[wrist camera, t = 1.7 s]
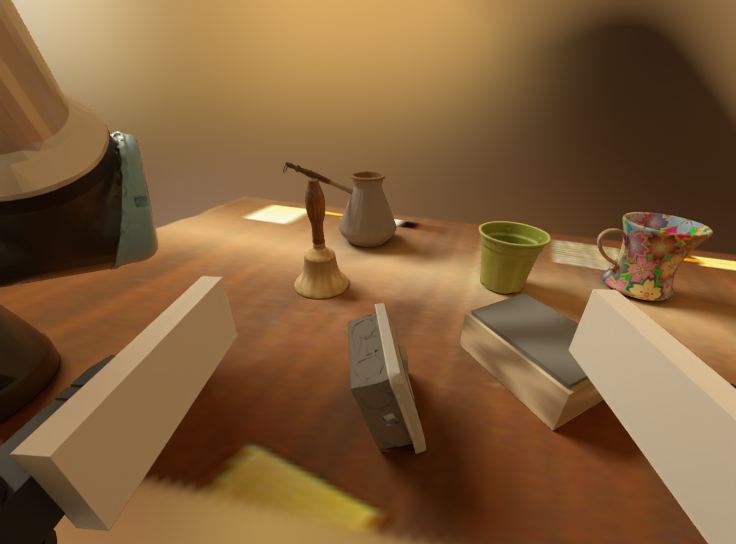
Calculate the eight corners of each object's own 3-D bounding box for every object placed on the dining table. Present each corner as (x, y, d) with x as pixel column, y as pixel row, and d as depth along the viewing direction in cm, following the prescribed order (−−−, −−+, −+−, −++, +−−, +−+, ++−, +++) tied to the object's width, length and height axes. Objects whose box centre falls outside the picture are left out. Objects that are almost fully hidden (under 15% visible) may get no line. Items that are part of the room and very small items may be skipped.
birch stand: (459, 344, 36) (466, 309, 34) (514, 323, 40) (524, 290, 37) (552, 430, 27) (571, 390, 25) (614, 393, 30) (636, 354, 28)
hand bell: (353, 295, 46) (351, 184, 38) (295, 302, 44) (281, 188, 36) (343, 269, 53) (340, 171, 45) (293, 274, 51) (280, 174, 43)
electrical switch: (427, 457, 25) (427, 375, 20) (363, 467, 25) (349, 385, 20) (405, 369, 33) (401, 296, 29) (357, 376, 33) (345, 304, 28)
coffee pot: (394, 229, 69) (398, 158, 61) (397, 252, 59) (401, 169, 51) (297, 228, 69) (290, 157, 62) (284, 250, 59) (273, 168, 52)
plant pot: (478, 264, 54) (488, 216, 50) (538, 279, 50) (554, 228, 46) (461, 288, 47) (470, 235, 43) (528, 308, 43) (546, 251, 39)
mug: (648, 277, 51) (680, 213, 46) (689, 310, 43) (734, 238, 38) (569, 270, 53) (591, 209, 47) (593, 301, 45) (623, 231, 39)
